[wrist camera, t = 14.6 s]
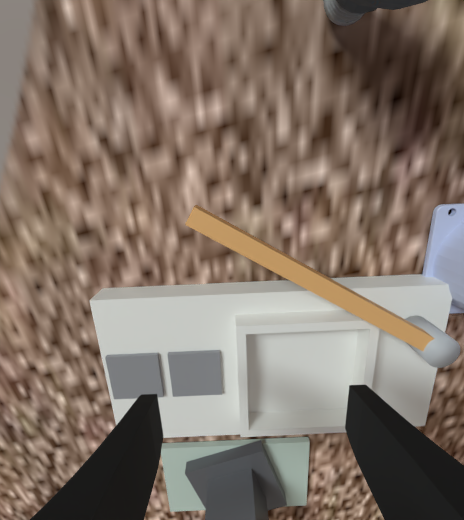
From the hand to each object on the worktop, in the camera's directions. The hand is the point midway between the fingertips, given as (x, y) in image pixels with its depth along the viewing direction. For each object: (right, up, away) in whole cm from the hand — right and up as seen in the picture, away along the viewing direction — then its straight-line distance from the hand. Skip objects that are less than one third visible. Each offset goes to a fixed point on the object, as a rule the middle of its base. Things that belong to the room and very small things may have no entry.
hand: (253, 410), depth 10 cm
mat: (0, -14, +15) cm, 21 cm away
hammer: (+5, +5, +7) cm, 10 cm away
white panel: (+2, -2, +11) cm, 12 cm away
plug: (0, -14, +15) cm, 20 cm away
